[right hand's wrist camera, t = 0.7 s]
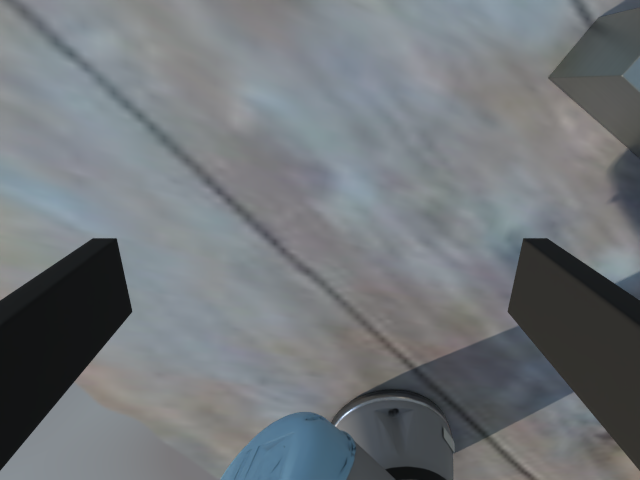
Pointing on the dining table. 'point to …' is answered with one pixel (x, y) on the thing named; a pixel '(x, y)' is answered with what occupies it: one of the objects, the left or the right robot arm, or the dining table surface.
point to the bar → (607, 75)
